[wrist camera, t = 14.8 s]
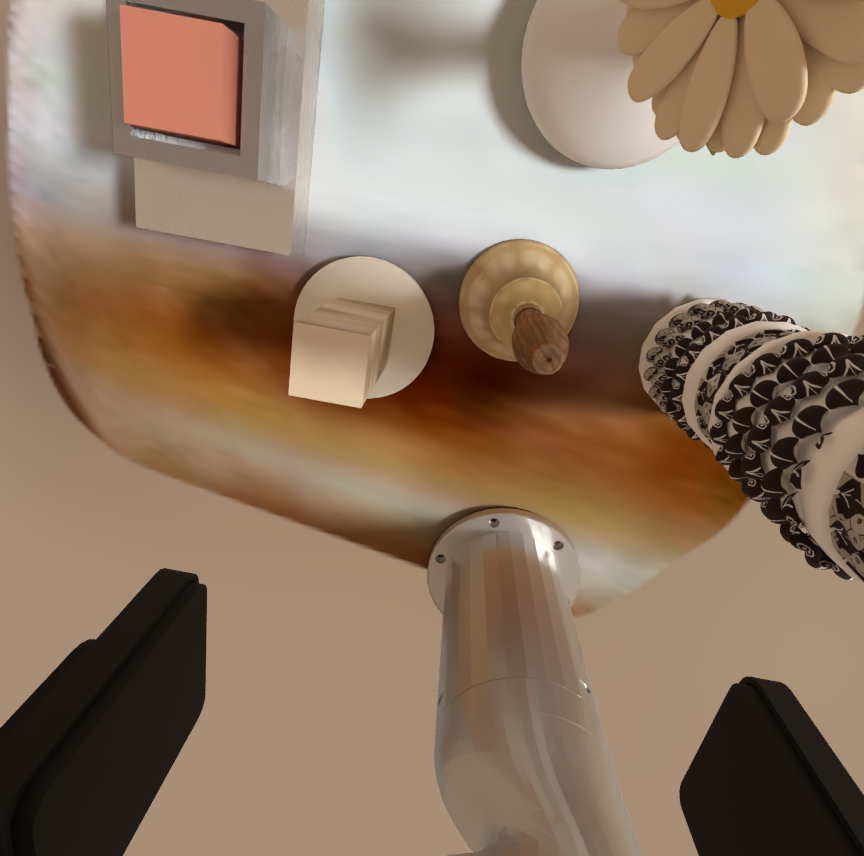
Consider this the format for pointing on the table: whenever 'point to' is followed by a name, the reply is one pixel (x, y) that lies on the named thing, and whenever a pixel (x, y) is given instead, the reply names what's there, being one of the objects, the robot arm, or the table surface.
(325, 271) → the coaster
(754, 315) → the decorative candle
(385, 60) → the table surface
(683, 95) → the flower in vase
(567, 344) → the hand bell
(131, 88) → the button
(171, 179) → the base
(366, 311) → the pale wood brick
